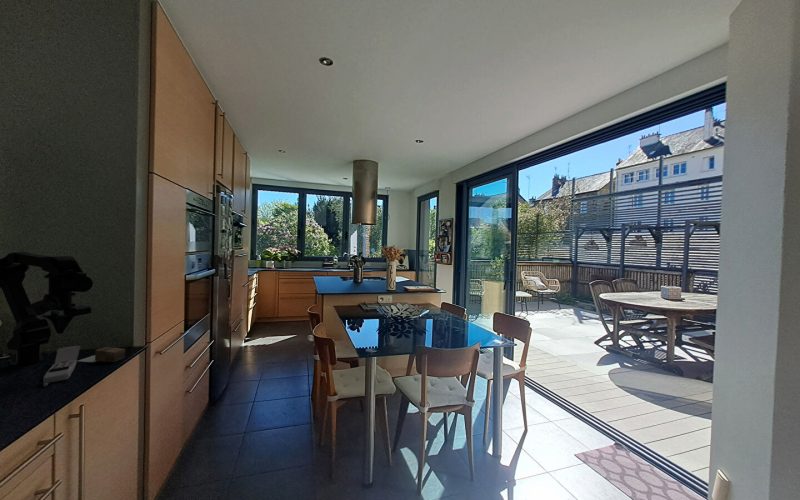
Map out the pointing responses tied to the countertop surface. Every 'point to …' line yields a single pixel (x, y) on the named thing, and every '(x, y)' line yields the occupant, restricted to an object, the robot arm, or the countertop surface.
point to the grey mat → (88, 359)
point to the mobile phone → (62, 365)
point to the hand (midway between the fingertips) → (60, 333)
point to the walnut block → (109, 354)
